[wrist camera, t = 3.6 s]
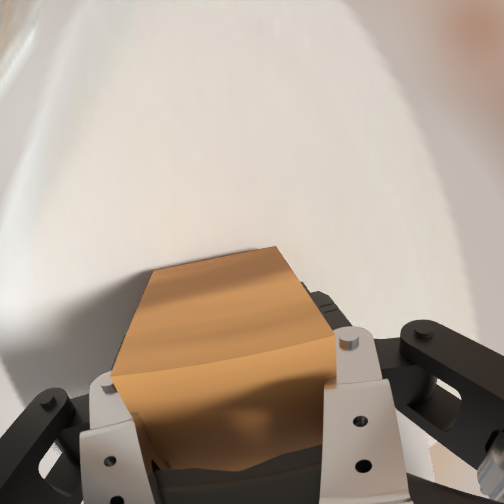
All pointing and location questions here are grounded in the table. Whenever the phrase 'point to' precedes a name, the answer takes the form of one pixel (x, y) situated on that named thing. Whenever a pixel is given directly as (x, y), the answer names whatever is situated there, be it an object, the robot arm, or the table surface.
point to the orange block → (227, 362)
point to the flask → (415, 448)
